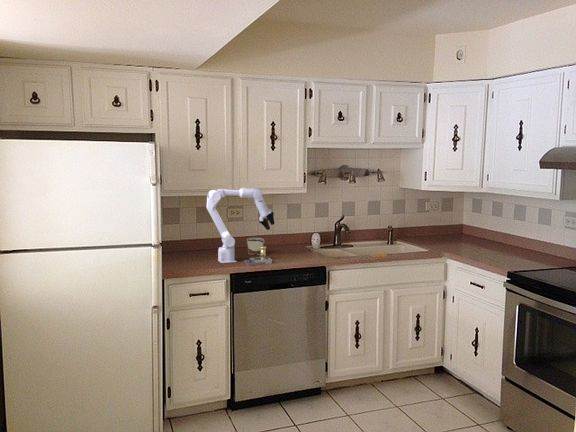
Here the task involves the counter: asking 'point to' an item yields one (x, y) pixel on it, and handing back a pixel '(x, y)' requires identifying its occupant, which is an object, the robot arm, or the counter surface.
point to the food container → (255, 245)
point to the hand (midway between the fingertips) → (270, 226)
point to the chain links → (258, 261)
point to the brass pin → (262, 251)
